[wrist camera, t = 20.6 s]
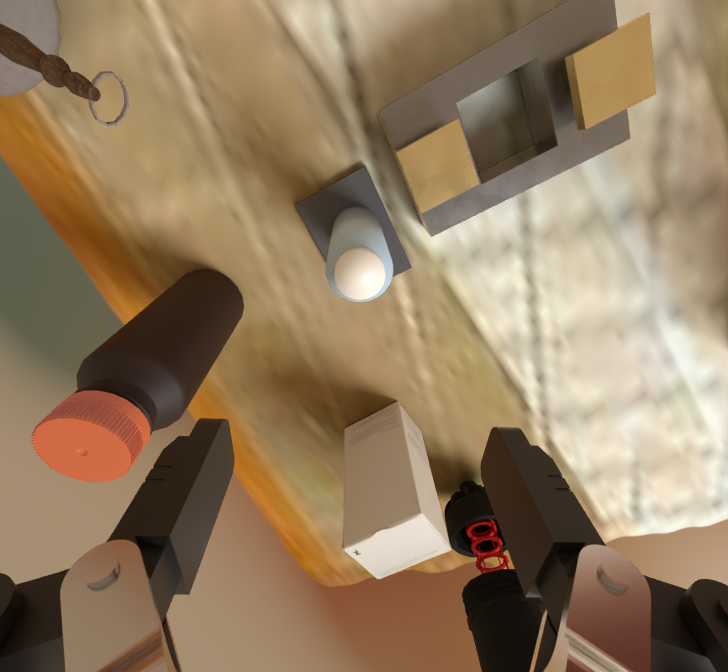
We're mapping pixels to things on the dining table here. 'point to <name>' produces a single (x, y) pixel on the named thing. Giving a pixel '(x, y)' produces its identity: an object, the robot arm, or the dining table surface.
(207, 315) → the bottle
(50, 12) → the coffee pot
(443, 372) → the dining table surface
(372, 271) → the cartridge
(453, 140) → the plunger
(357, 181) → the mat
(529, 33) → the housing
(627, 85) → the plunger
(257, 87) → the dining table surface
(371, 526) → the skincare box
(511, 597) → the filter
